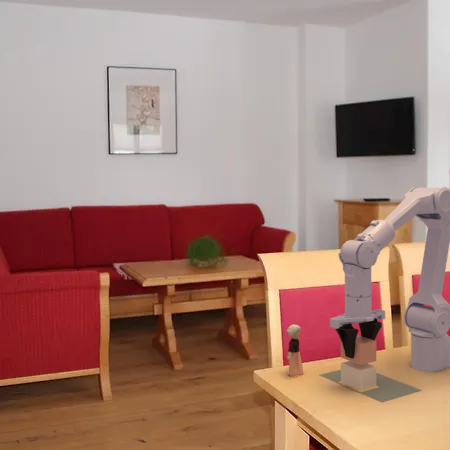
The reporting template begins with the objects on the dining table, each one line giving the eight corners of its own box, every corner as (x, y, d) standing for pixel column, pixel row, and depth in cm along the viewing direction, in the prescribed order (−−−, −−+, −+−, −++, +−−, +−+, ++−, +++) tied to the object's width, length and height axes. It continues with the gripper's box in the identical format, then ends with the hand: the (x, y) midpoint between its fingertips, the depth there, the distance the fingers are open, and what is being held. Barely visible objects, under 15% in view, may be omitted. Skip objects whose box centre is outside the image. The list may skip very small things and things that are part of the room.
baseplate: (357, 368, 144) (357, 365, 144) (422, 393, 127) (422, 389, 127) (319, 378, 138) (319, 374, 138) (381, 406, 121) (381, 401, 121)
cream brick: (356, 378, 135) (356, 359, 134) (376, 386, 129) (376, 366, 129) (340, 382, 132) (340, 362, 132) (360, 391, 127) (360, 370, 126)
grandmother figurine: (302, 382, 135) (301, 328, 134) (285, 382, 136) (284, 328, 135) (304, 371, 143) (303, 320, 142) (288, 371, 144) (287, 320, 142)
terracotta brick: (356, 353, 134) (355, 334, 134) (376, 361, 129) (376, 341, 128) (340, 357, 132) (340, 337, 132) (360, 364, 126) (360, 344, 126)
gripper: (345, 302, 122) (345, 365, 123) (395, 293, 129) (395, 353, 130) (323, 296, 128) (324, 357, 129) (372, 288, 135) (372, 346, 137)
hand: (358, 355), depth 130 cm, fingers closed on terracotta brick, 4 cm apart
